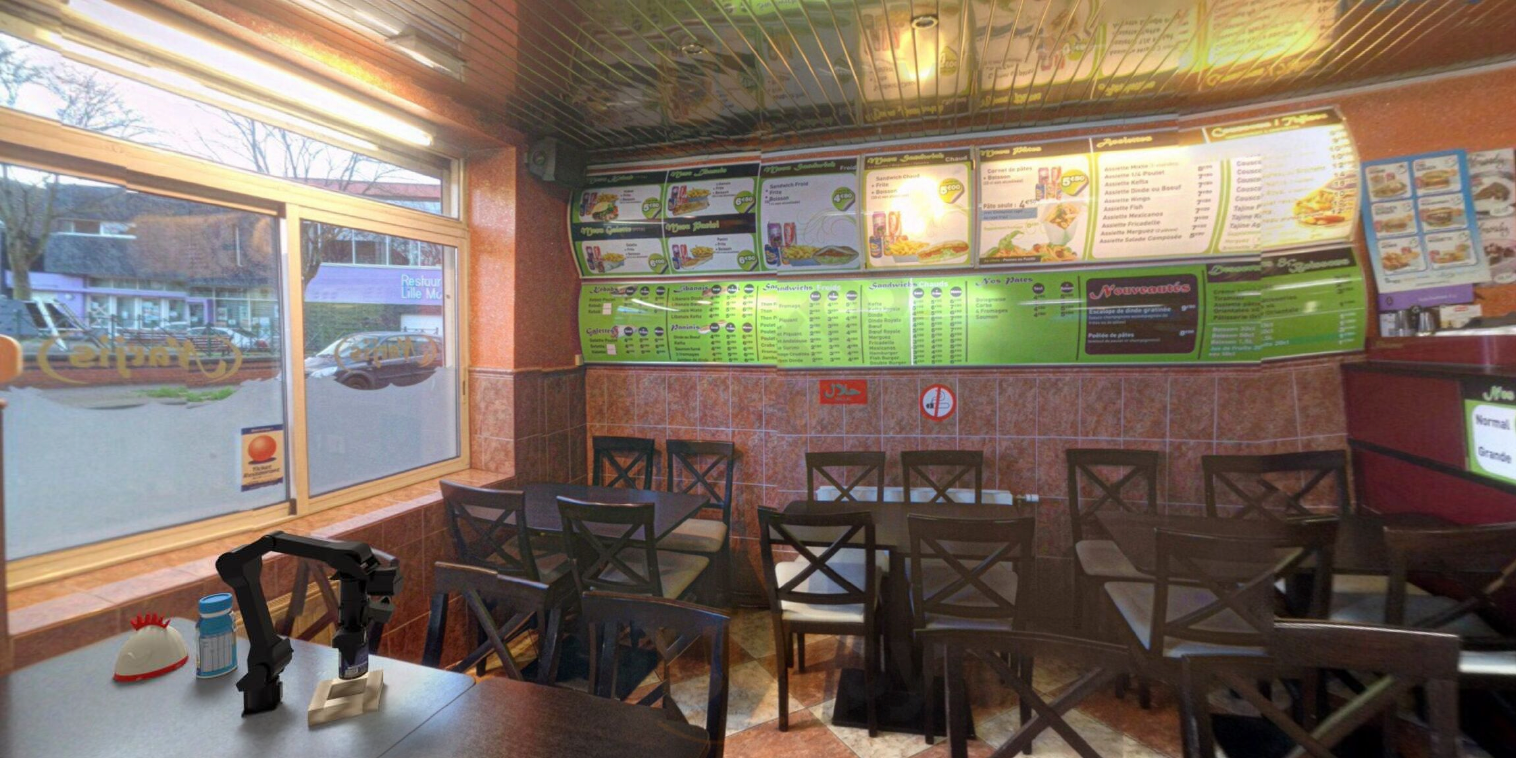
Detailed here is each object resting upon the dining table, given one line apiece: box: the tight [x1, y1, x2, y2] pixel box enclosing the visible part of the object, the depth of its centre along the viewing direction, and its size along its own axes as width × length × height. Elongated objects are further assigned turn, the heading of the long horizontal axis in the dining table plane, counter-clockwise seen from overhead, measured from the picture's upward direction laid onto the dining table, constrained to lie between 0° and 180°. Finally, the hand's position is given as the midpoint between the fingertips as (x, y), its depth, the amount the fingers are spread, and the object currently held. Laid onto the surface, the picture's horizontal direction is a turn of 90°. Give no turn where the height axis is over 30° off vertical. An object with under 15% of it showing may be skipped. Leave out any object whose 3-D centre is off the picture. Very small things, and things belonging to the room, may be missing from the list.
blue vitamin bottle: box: [194, 592, 238, 679], centre depth 156 cm, size 8×8×20 cm
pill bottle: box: [337, 636, 370, 680], centre depth 144 cm, size 6×6×11 cm
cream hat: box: [113, 611, 189, 683], centre depth 158 cm, size 14×14×15 cm
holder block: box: [307, 668, 384, 727], centre depth 144 cm, size 14×14×4 cm
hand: (353, 658), depth 144 cm, fingers closed on pill bottle, 6 cm apart
